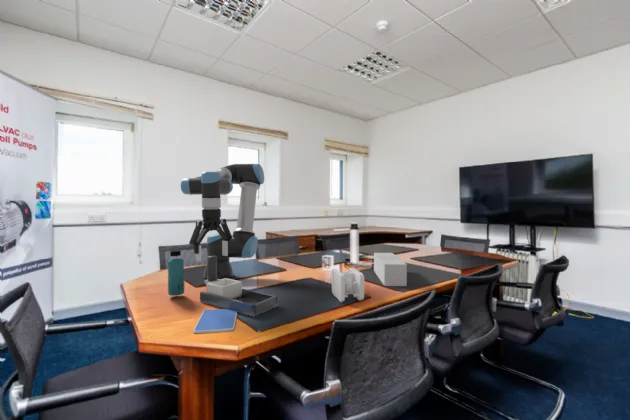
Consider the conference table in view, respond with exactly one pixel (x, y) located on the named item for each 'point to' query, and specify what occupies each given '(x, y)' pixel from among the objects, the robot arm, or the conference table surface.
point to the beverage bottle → (175, 274)
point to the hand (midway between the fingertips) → (212, 258)
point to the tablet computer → (216, 321)
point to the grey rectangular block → (390, 269)
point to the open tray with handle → (221, 282)
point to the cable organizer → (347, 284)
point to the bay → (242, 302)
